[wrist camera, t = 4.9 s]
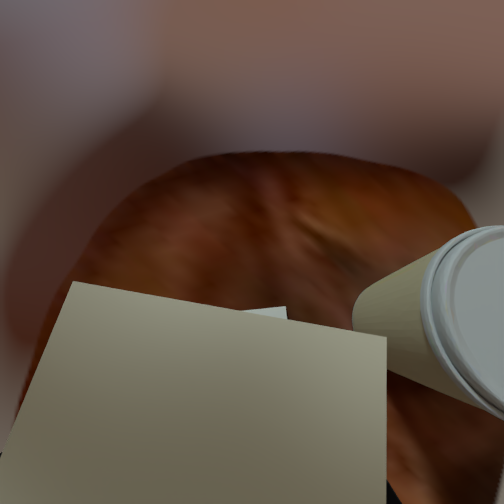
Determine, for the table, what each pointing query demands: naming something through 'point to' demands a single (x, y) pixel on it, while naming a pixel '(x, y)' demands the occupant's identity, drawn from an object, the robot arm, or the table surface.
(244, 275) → the table surface
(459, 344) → the coffee cup
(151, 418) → the letter block
